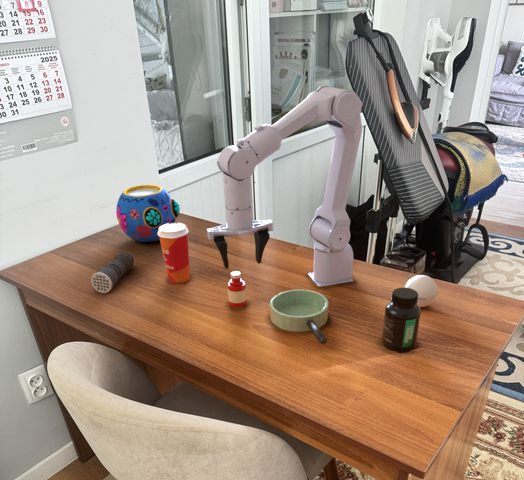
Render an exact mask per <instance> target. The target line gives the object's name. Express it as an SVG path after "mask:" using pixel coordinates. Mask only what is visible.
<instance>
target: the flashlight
mask: <svg viewBox="0 0 524 480" xmlns="http://www.w3.org/2000/svg"><path fill="white" fill-rule="evenodd" d="M134 266H135V258H134V255H133V254H132V253H130V252H129V251H125V250H124V251H123V250H122V251H119V252H118V253H117V254H115V255H114V256H113V258H112V260H111V261H110V262H109V263H108V264H105V265H103V267H101V268H100V269H98V270H97V271H95V273H93V274H92V276H91V277H90V283H91V286H92V287H93V289H94V290H96V291H97V292H99V293H101V294H106V293H109V292H111V290H112V289H113V288H114V287H115V286H116V284H117V283H118V282H119V281H120V279H121V277H122V276H123V275H125V274H126V273H128V272H129V271H130V270H132V268H133V267H134Z"/></svg>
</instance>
